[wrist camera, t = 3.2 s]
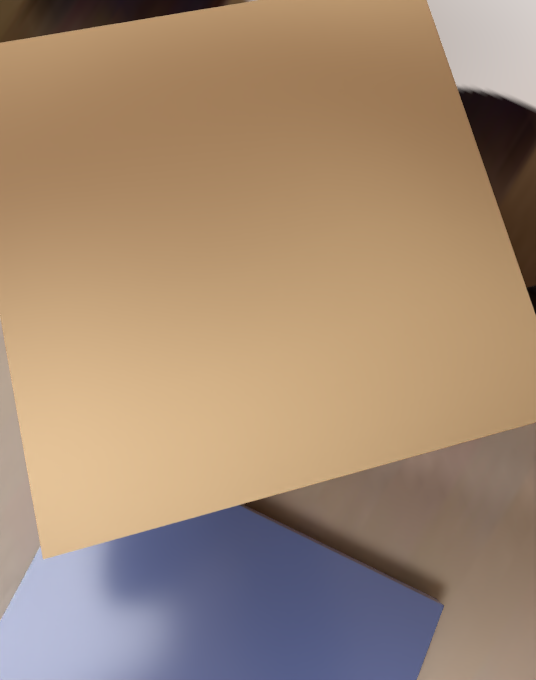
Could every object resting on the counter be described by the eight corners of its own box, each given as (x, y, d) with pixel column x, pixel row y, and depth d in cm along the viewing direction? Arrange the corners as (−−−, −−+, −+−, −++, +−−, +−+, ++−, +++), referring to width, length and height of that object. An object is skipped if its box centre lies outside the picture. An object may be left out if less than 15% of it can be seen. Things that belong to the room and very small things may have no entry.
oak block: (330, 420, 16) (568, 413, 5) (184, 458, 16) (43, 558, 4) (292, 281, 17) (416, -26, 5) (152, 314, 17) (-47, 50, 5)
